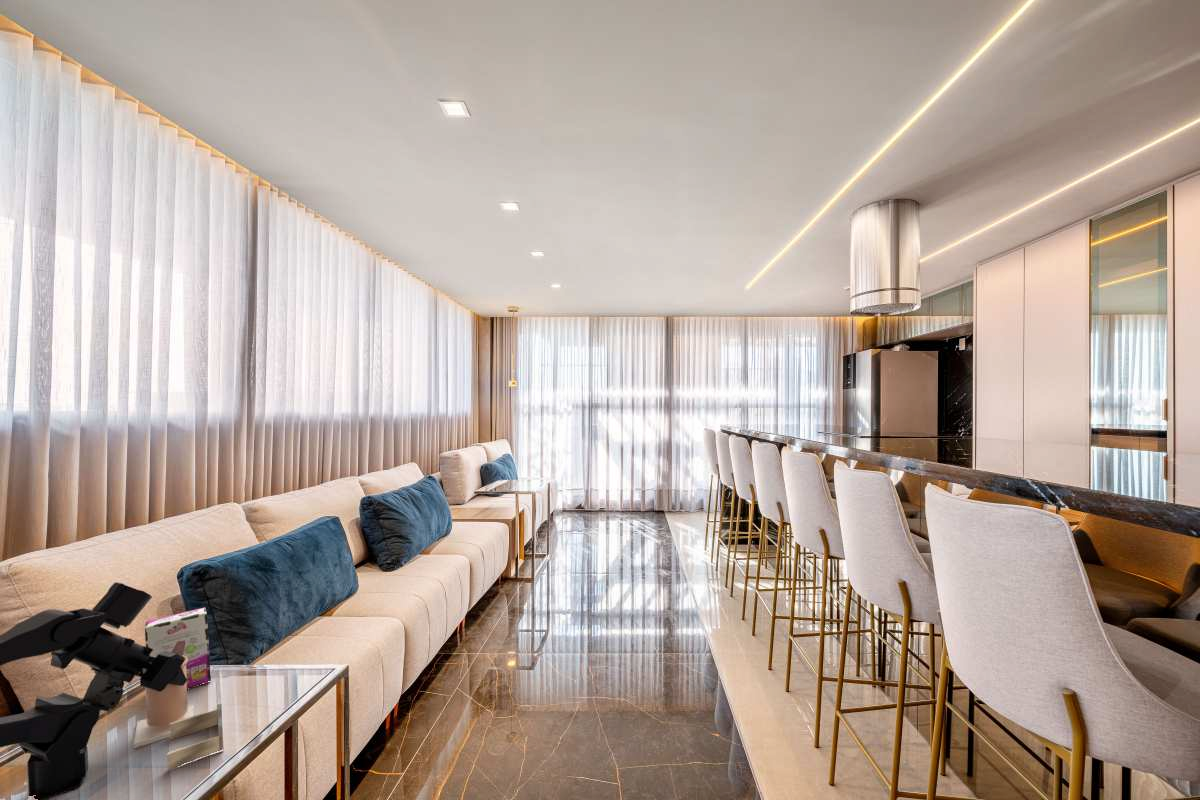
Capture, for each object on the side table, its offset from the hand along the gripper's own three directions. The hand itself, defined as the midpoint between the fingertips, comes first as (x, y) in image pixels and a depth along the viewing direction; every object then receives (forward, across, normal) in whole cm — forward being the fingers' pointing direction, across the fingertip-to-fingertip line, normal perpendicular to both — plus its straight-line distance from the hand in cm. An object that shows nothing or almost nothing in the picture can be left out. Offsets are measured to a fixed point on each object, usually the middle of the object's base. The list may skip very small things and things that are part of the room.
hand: (173, 680), depth 108 cm
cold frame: (+3, +11, -9) cm, 15 cm away
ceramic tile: (+5, 0, -7) cm, 9 cm away
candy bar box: (+13, -14, 0) cm, 19 cm away
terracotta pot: (+4, 0, -6) cm, 7 cm away
